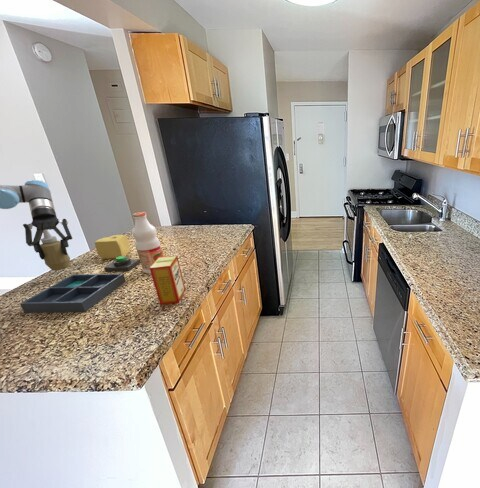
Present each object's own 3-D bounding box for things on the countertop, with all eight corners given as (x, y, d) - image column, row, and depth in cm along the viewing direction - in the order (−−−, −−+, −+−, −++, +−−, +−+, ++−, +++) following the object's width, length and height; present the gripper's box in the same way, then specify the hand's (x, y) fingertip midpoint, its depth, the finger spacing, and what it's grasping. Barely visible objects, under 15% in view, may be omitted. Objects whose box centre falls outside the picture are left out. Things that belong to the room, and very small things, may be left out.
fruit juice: (146, 267, 127) (130, 211, 117) (168, 263, 130) (154, 209, 120) (141, 275, 119) (123, 216, 108) (164, 272, 122) (148, 214, 111)
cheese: (111, 251, 144) (105, 235, 141) (132, 250, 146) (127, 233, 142) (99, 259, 135) (93, 242, 131) (122, 258, 137) (116, 240, 133)
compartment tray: (24, 312, 94) (19, 303, 92) (76, 282, 114) (72, 274, 112) (85, 311, 94) (81, 302, 93) (126, 281, 114) (123, 273, 113)
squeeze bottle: (69, 262, 122) (54, 225, 115) (76, 266, 118) (61, 229, 111) (45, 269, 115) (28, 231, 108) (51, 273, 111) (34, 234, 105)
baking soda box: (179, 302, 99) (169, 265, 93) (160, 304, 98) (149, 267, 92) (185, 289, 108) (177, 254, 102) (168, 291, 106) (158, 256, 100)
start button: (115, 262, 124) (113, 259, 123) (120, 259, 127) (119, 255, 127) (122, 262, 124) (121, 258, 123) (127, 259, 127) (126, 255, 127)
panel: (105, 271, 123) (102, 264, 121) (118, 263, 131) (116, 256, 130) (128, 271, 123) (126, 263, 121) (140, 263, 131) (138, 255, 130)
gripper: (74, 212, 125) (86, 253, 120) (14, 219, 113) (24, 265, 108) (70, 203, 120) (82, 246, 114) (6, 210, 108) (16, 258, 102)
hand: (54, 255), depth 111 cm, fingers closed on squeeze bottle, 6 cm apart
